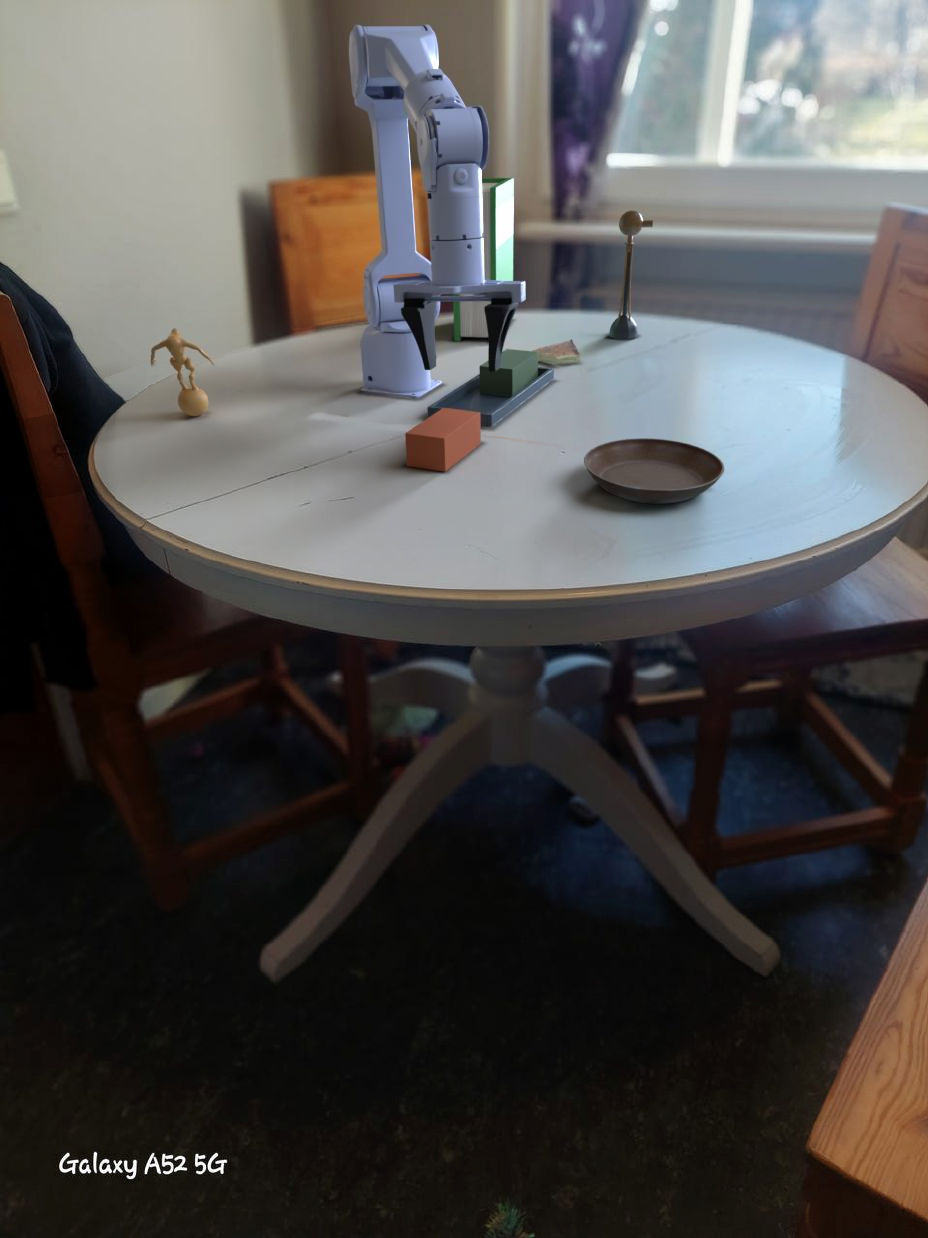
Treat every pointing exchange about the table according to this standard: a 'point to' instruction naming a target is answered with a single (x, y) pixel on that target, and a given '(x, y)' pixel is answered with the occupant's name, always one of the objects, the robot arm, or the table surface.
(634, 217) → the ball topped stand
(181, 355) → the figurine
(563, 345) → the tan flat wedge
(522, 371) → the rear pad
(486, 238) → the hardback book
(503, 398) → the tray
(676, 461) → the saucer
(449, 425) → the reddish orange rectangular block
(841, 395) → the table surface
